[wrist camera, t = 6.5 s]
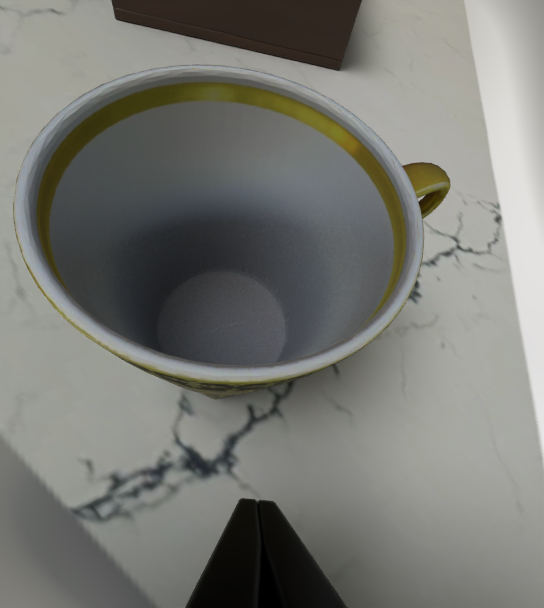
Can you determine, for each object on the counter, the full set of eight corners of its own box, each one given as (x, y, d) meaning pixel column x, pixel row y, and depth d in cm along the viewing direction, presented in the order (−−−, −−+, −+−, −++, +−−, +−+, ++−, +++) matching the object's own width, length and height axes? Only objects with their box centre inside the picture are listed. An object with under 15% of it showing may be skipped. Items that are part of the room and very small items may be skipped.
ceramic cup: (140, 472, 14) (30, 464, 5) (101, 270, 18) (-2, 68, 9) (399, 377, 18) (583, 281, 9) (323, 226, 22) (403, 54, 13)
